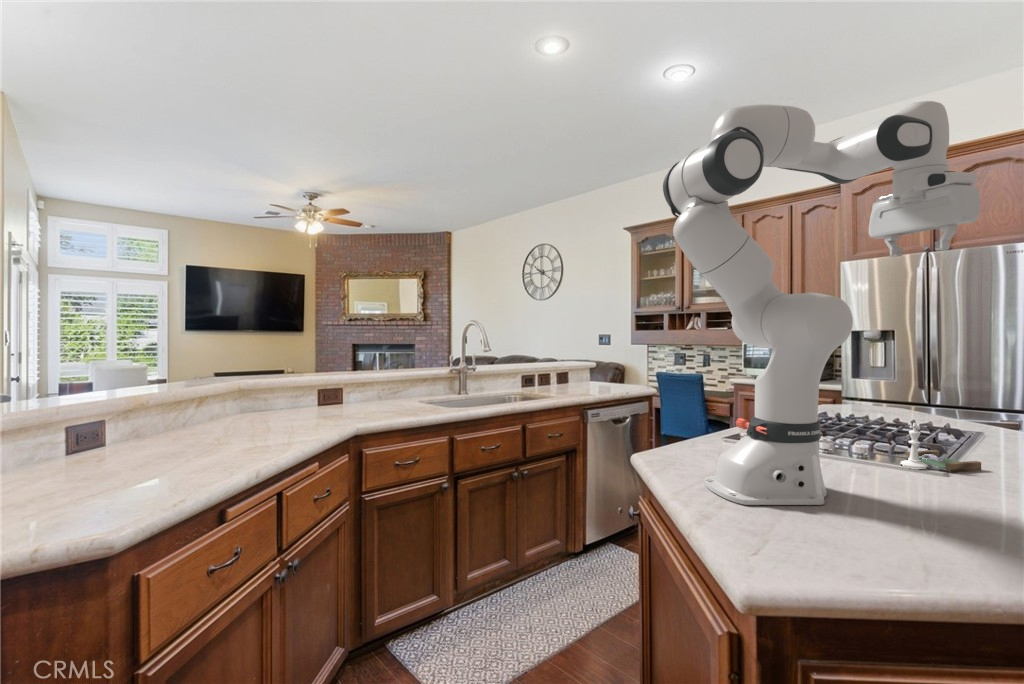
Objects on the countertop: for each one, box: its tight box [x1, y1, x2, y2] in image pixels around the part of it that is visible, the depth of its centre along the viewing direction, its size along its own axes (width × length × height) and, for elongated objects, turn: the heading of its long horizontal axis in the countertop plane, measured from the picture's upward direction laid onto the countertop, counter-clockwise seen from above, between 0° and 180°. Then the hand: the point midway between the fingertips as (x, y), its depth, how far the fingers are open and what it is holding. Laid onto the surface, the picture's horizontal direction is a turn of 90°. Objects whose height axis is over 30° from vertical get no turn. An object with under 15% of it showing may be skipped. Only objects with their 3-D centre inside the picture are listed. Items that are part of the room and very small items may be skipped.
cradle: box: [905, 449, 982, 473], centre depth 111 cm, size 8×10×2 cm
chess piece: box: [899, 422, 929, 468], centre depth 109 cm, size 5×5×10 cm
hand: (918, 253), depth 100 cm, fingers open, 8 cm apart
